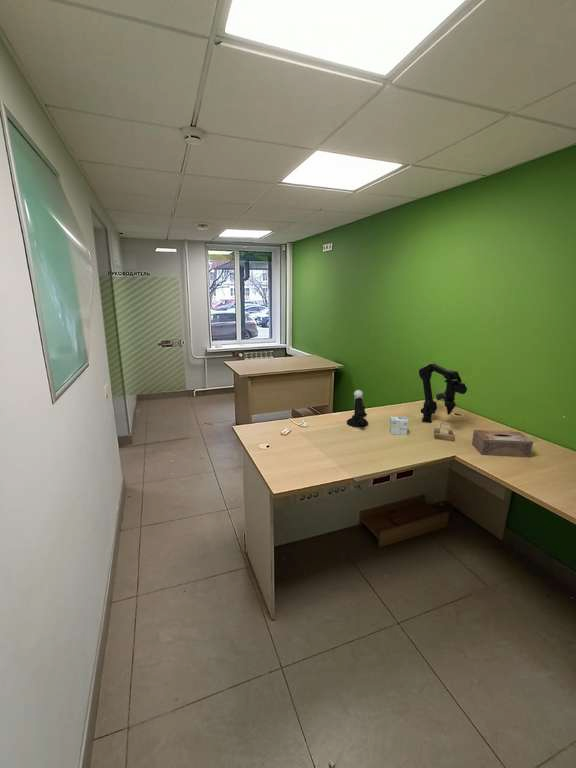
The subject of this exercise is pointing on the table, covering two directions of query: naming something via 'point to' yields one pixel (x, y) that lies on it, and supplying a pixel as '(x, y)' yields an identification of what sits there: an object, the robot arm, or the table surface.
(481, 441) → the tissue box cover
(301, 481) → the table surface
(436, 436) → the pedestal
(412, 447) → the table surface
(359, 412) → the sculpture
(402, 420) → the light bulb box
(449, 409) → the robot arm
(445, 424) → the beige cube
